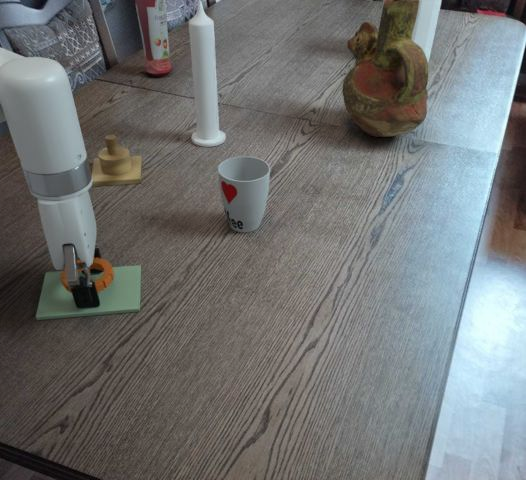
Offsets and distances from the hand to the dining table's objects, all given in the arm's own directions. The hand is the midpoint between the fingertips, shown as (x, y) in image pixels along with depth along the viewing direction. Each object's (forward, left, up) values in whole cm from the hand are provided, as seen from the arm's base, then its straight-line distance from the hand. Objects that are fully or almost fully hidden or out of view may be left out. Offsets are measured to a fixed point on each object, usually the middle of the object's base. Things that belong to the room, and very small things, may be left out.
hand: (90, 287), depth 79 cm
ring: (0, 0, +2) cm, 2 cm away
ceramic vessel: (+56, +48, -1) cm, 74 cm away
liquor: (+10, +85, -1) cm, 86 cm away
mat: (0, 0, -1) cm, 1 cm away
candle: (+20, +47, -1) cm, 51 cm away
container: (+75, +89, -1) cm, 116 cm away
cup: (+24, +15, -1) cm, 28 cm away
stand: (+2, +35, -1) cm, 35 cm away
